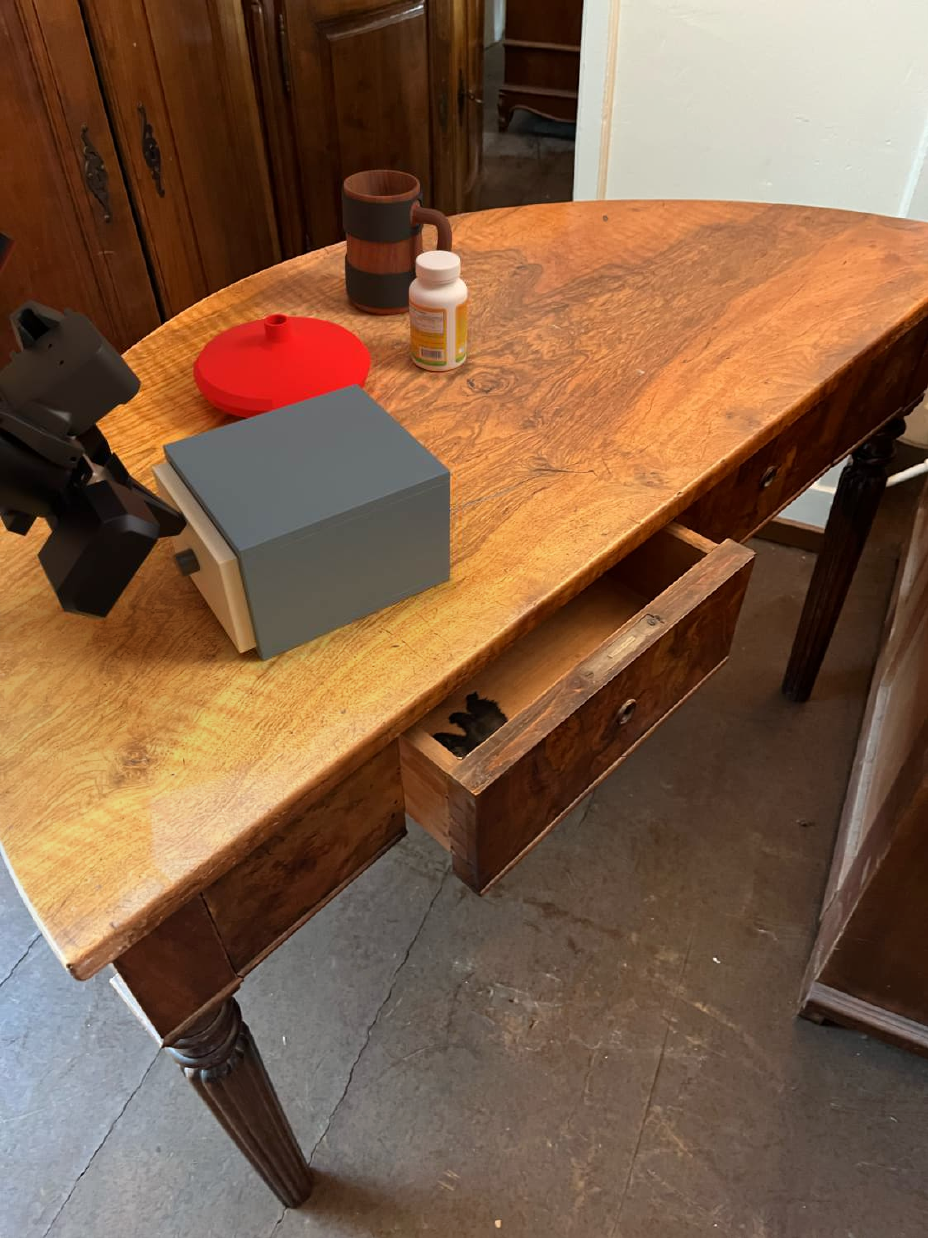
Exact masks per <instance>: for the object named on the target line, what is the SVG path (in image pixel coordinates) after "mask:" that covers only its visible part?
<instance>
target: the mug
mask: <svg viewBox="0 0 928 1238" xmlns="http://www.w3.org/2000/svg"><path fill="white" fill-rule="evenodd" d="M341 201H342V202H341V204H342V205H341V206H342V228H343V231H344V232H345V241H346V242H345V243H346V253H345V254H344V281H345V282H344V283H345V292H346V295H347V297H348V299H350V301H351V302H352V304H353V305H354V306H355V307H356V308H358V309H359V310H361V311H363V312H366V313H371V314H376V315H397V314H402V313H407V312H410V309H409V287H410V285H411V283H412V282H413V281H414V280H415V279H416V278H417V276H416V258H417V257H418V256H419V255H421V254H422V253H425V251H424V242H423V229H424V227H425V225H429V226H430V225H431V226H434V227H435V228H436V233H437V238H436V239H437V240H436V249H435V251H447V252H451V253H452V248H453V231H452V227H451V223H450V221H449V219H448V217H447V216H446V215H445V214H444V213H443V212H441V211H439V210H437V209H434V208H427V207H424V203H423V186H422V185H421V184H420V181H419V179H418V178H417V177H415V176H413V175H412V174H409V173H406V172H402V171H397V170H392V169H391V170H390V169H374V170H366V171H360V172H357V173H354V174H352V175H349V176H347V178H346V179H345V180H344V181H343V184H342V185H341Z"/></svg>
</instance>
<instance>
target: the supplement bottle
mask: <svg viewBox="0 0 928 1238" xmlns="http://www.w3.org/2000/svg"><path fill="white" fill-rule="evenodd" d="M416 276H417V278H416V279H415V280H414V281H413V282H412V283H411V285H410V287H409V309H410V310H409V330H410V331H409V333H410V355H411V360H412V362H413V363H414V364H415V365H416V366H418V367H419V368H421V369H424V370H427V371H434V372H446V371H451V370H453V369H457V368H458V367H460V366H461V365H463V364H464V363H465V361H466V359H467V355H468V354H467V351H468V287H467V285H466V283H465V281H464V280H462V279H461V278H460V276H461V258H460V257H459V255H458V254H456V253H455V252H454V253H453V252H452V251H451V252H447V251H436V250H430V251H429V250H428V251H424V253H422V254H421V255H419V256H418V257H417V258H416Z"/></svg>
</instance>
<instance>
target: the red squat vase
mask: <svg viewBox="0 0 928 1238" xmlns="http://www.w3.org/2000/svg"><path fill="white" fill-rule="evenodd" d="M199 352H200V353H199V354H198V356H197V357H196V359H195V361H194V362H193V367H192V378H193V380H194V382H195V384H196V386H197V388H198V389H199V390H200V393H201V394H202V396H203V397H204V399H206V400H207V401H208V402H209V403H210V404H212V406H214V407H215V408H217V409H219V410H221V411H223V412H225V413H227V414H230V415H232V416H236V417H241V418H245V419H248V418H251V417H254V416H257V415H260V414H263V413H267V412H270V411H273V410H276V409H279V408H282V407H285V406H289V405H292V404H295V403H298V402H301V401H304V400H307V399H311V398H314V397H317V396H320V395H323V394H326V393H330V392H333V391H336V390H339V389H342V388H345V387H348V386H352V385H355V384H357V385H358V386H359V387H360V388H362V389H363V388H364V386H365V384H366V383H367V382H366V381H367V379H368V375H369V372H370V368H371V366H372V358H371V352H370V350H369V349H368V347H367V346H366V345H365V343H364V342H363V341H362V340H361V339H360V338H359V337H358V336H357V335H356V334H355V333H353V332H352V331H350V330H348V329H347V327H344V326H342V325H340V324H337V323H334V322H332V321H330V320H324V319H320V318H314V317H307V316H291V315H289V316H288V315H287V314H282V313H273V314H269V315H267V316H265V317H264V318H260V319H255V320H250V321H246V322H244V323H240V324H238V325H235V326H231V327H230V328H228V329H226V330H224V331H222V332H220V333H219V334H217V335H215V336H214V337H213V338H212V339H210V340H209V341H208V342H207V343H206V344H205V345H204V346H203V348H202V349H201V351H199Z"/></svg>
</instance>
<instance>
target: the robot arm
mask: <svg viewBox="0 0 928 1238" xmlns="http://www.w3.org/2000/svg"><path fill="white" fill-rule="evenodd" d="M17 243H18V241H17V240H15V239H14V238H12V237H11V236H9V235H8V234H6V233H4V232H2V231H1V230H0V276H1V275H2V273H3V271H4V269H5V267H6V266H7V263H8V261H9V259H10V257H11V256H12V253H13V251H14V249H15V248H16V245H17ZM8 318H9V321H10V323H11V327H12V330H13V333H14V337H15V340H16V343H17V345H18V347H19V348H20V352H18V351H17V349H15V348H13V349H11V351H10V352H8V355H9V357H10V358H11V360H12V361H11V362H9V363H6V365H5V366H4V367H3V370H1V371H0V519H1V521H2V523H3V525H4V527H5V529H6V531H8V532H11V533H13V534H17V535H18V536H19V535H20V536H23V537H26V536H27V534H28V533H29V531H30V530H31V528H32V526H33V525H34V524H35V522H36V520H37V519H38V518H40V519H44V520H45V522H46V523H47V525H48V527H49V529H50V531H51V532H50V534H49V536H48V537H47V539H46V540H45V542H44V543H43V544H42V547H41V548H40V550H39V551H38V552H37V554H36V555H37V558H38V561H39V563H40V566H41V568H42V570H43V572H44V575H45V577H46V579H47V581H48V583H49V585H50V587H51V589H52V591H53V593H54V595H55V598H56V599H57V601H58V603H59V605H60V607H61V609H62V611H63V612H64V613H68V614H71V615H76V616H80V617H84V618H88V619H91V620H95V621H98V620H104V619H106V618H107V617H108V615H109V614H110V613H111V611H112V610H113V608H114V607H115V605H116V604H117V602H118V601H119V599H120V598H121V596H122V595H123V593H124V592H125V591H126V589H127V587H128V586H129V584H130V583H131V581H133V579H134V577H135V576H136V574H137V572H138V571H139V570H140V568H141V567H142V565H143V564H144V562H145V561H146V559H147V558H148V557H149V555H150V553H151V552H152V551H153V549H154V547H155V546H156V545H157V544H158V541H159V539H165V538H171V537H172V536H178V535H180V534H181V533H182V531H183V530H184V528H185V527H186V525H187V523H186V520H185V519H184V518H183V516H182V515H181V514H180V513H179V512H178V511H177V510H175V509H174V508H173V507H171V506H170V505H169V504H167V503H166V502H165V501H163V500H162V499H161V498H160V496H159V495H157V494H155V493H154V492H153V491H152V490H150V489H149V488H148V487H146V486H145V485H143V484H142V482H140V481H139V480H137V479H136V478H134V477H133V476H132V475H131V474H130V472H129V471H128V469H127V468H126V467H125V464H124V463H123V462H122V460H121V459H120V457H119V456H118V454H117V453H116V452H115V451H113V452H112V451H111V447H110V444H109V441H108V439H107V438H106V436H105V435H104V434H103V432H102V430H101V429H100V428H99V426H98V425H97V423H99V421H101V420H103V418H105V417H106V416H107V415H109V414H110V413H111V412H112V411H113V410H115V409H116V408H117V407H118V406H123V405H126V404H128V403H130V402H131V401H132V400H133V399H134V398H135V397H136V396H137V395H138V393H139V391H140V388H141V383H142V382H141V380H140V378H139V377H138V376H137V374H136V373H135V372H134V370H132V368H131V366H129V364H128V363H127V362H126V361H125V359H124V358H123V356H122V355H121V353H119V352H118V351H117V349H115V347H114V346H113V345H112V344H111V343H110V342H109V341H108V340H107V338H106V337H105V336H104V335H103V334H102V332H100V330H99V329H98V328H97V327H96V326H95V325H94V324H93V323H92V321H91V320H89V319H90V318H88V317H87V316H86V315H85V314H84V313H83V312H74V311H73V310H72V308H70V307H69V306H67V307H66V308H65V309H64V310H62V312H61V311H59V310H57V309H54V308H52V307H49V306H47V305H44V304H42V303H39V302H37V301H35V300H32V299H29V300H27V301H25V302H24V303H23V304H21V305H20V306H19V307H18V308H17V309H15V310H14V311H12V312H11V313H10V314H9V317H8Z"/></svg>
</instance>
